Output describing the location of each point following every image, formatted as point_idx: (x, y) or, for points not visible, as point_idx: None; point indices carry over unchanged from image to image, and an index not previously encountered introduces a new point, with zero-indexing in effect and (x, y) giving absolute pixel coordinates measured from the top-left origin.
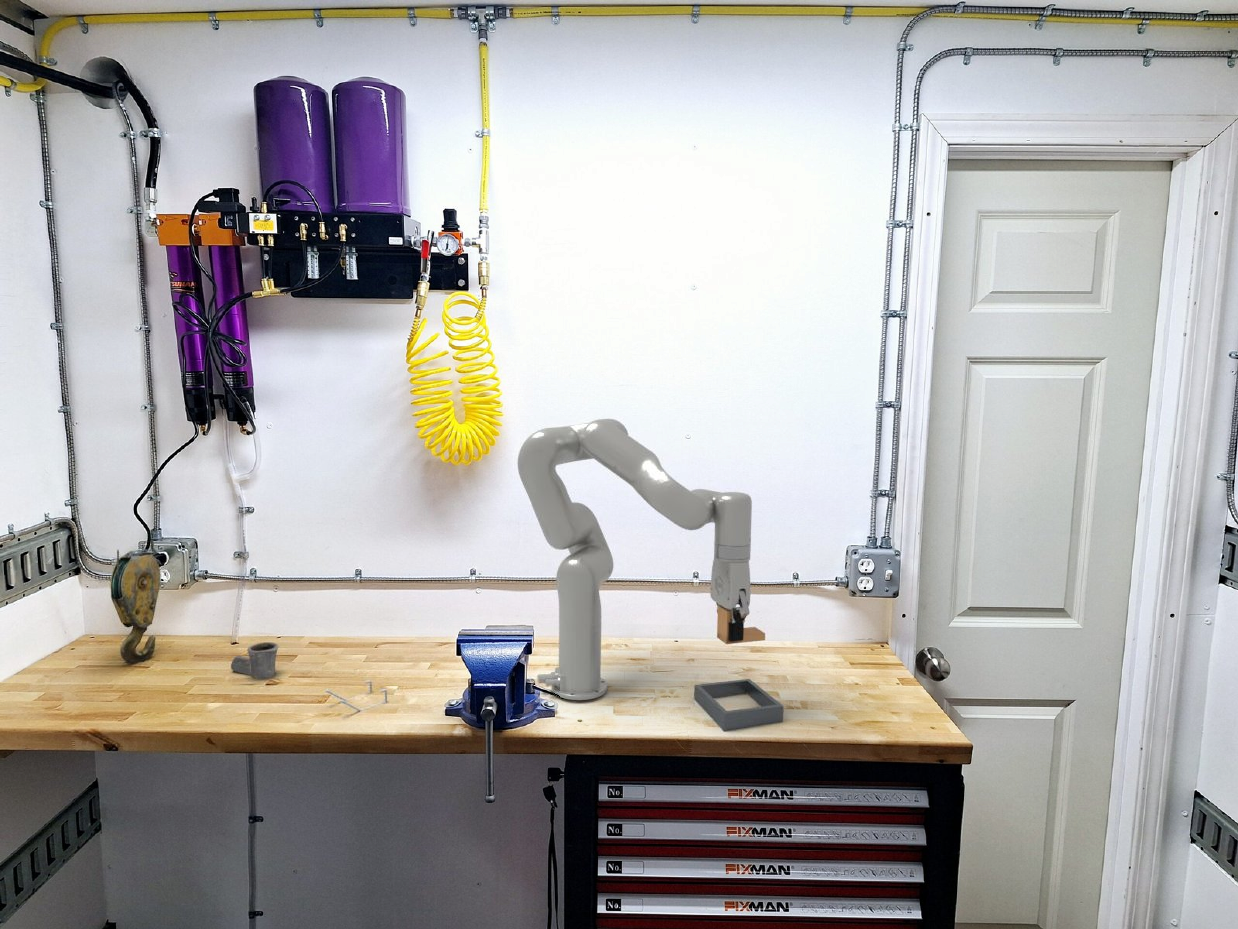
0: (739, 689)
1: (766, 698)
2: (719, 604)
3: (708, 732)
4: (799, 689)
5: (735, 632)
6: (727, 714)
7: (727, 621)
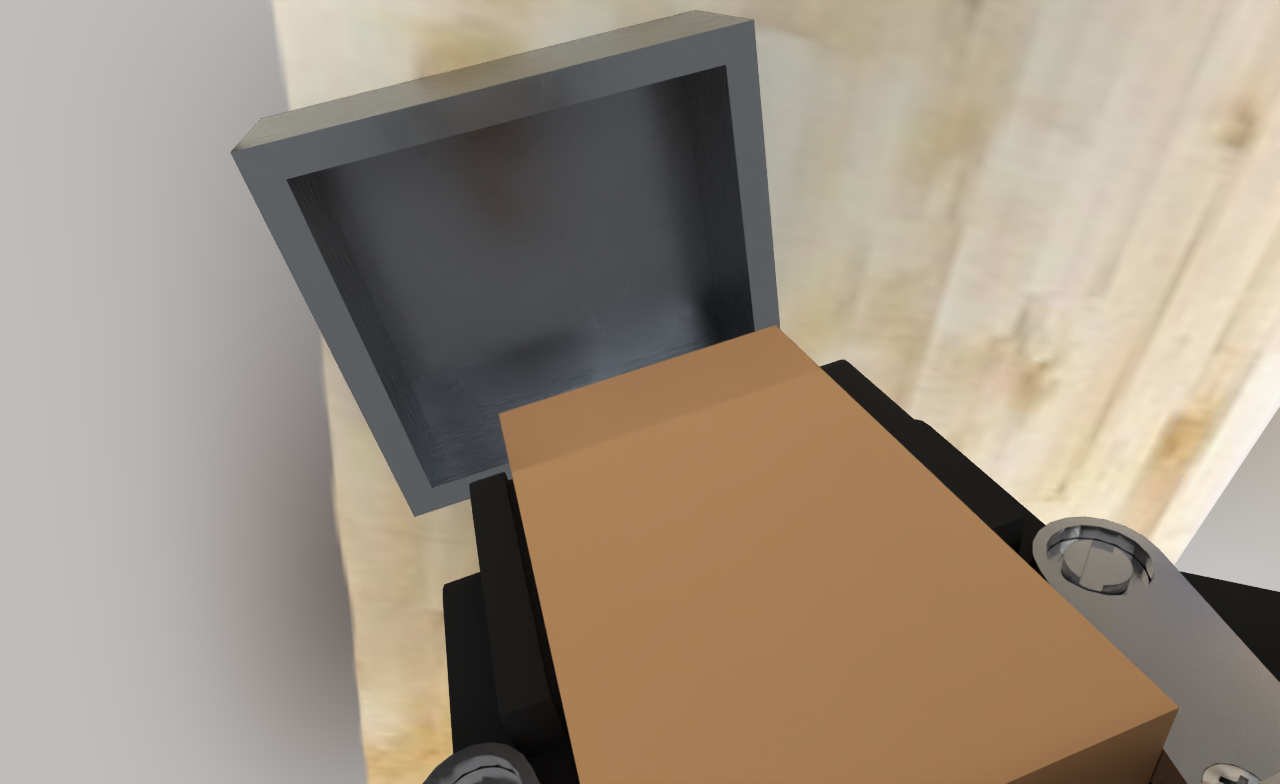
0: (737, 319)
1: None
2: (1209, 731)
3: (325, 29)
4: None
5: (454, 651)
6: (245, 176)
7: (563, 692)
